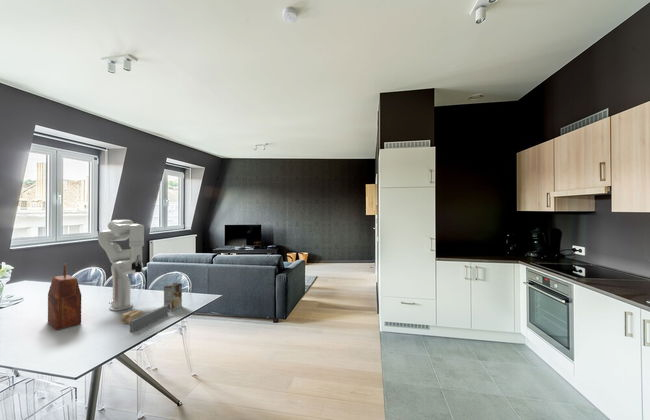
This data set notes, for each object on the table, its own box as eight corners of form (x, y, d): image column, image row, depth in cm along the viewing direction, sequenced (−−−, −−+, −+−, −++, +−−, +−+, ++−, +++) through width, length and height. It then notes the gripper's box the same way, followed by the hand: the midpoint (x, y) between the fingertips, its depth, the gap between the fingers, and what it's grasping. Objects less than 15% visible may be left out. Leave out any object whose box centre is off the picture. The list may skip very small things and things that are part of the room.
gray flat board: (130, 331, 141) (130, 320, 141) (165, 314, 165) (165, 305, 165) (133, 332, 141) (133, 321, 141) (167, 314, 164) (167, 305, 164)
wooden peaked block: (71, 317, 160) (72, 260, 161) (81, 324, 150) (81, 263, 150) (47, 322, 152) (48, 263, 152) (55, 331, 141) (56, 267, 141)
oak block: (121, 322, 152) (121, 314, 152) (132, 318, 159) (132, 310, 159) (131, 324, 151) (131, 315, 151) (141, 319, 158) (142, 310, 158)
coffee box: (174, 305, 180) (174, 282, 180) (182, 306, 179) (182, 283, 179) (163, 310, 171) (163, 286, 171) (171, 311, 170) (171, 287, 170)
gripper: (126, 243, 167) (126, 269, 166) (132, 245, 155) (132, 274, 155) (140, 242, 172) (140, 267, 172) (147, 244, 160) (147, 272, 160)
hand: (136, 270), depth 163 cm, fingers open, 9 cm apart
